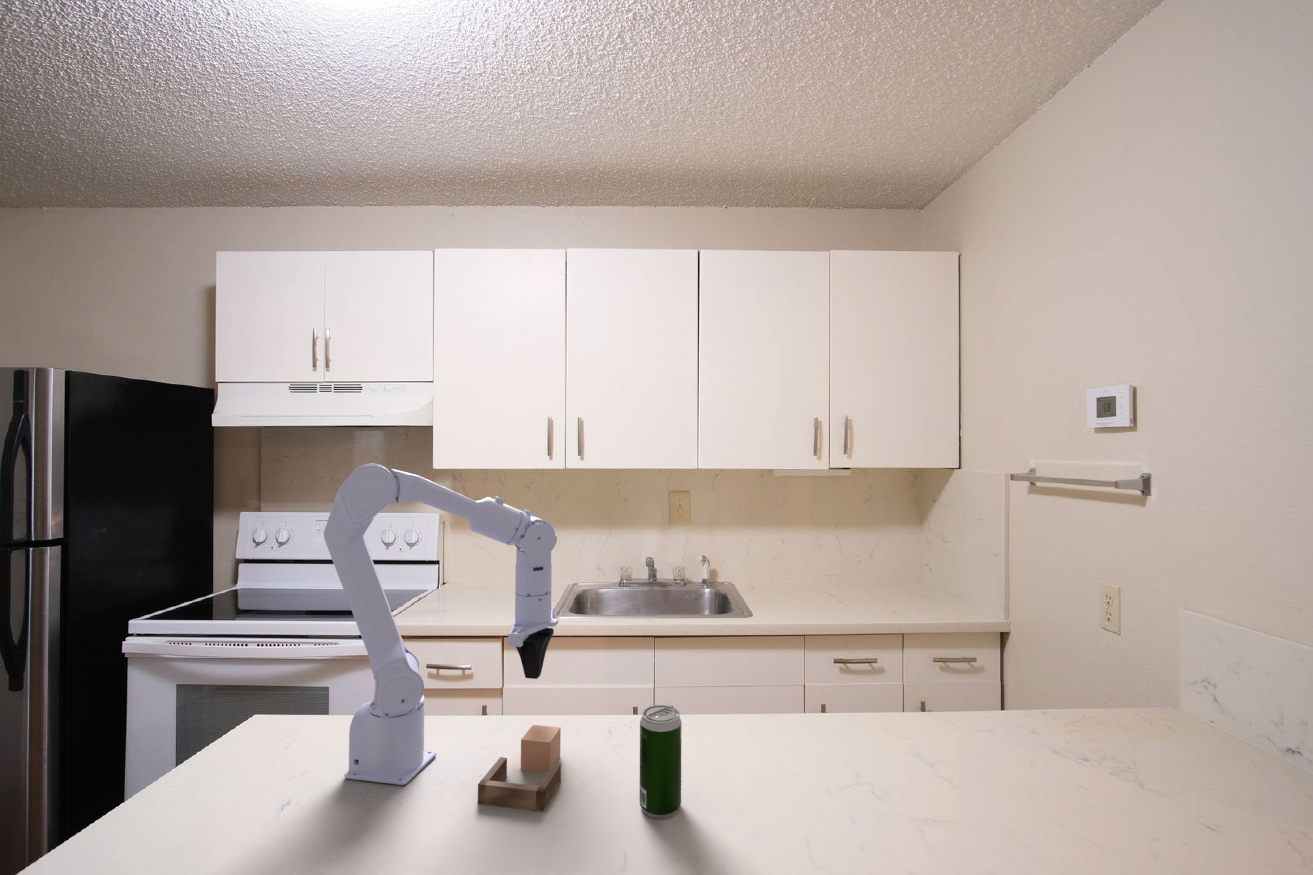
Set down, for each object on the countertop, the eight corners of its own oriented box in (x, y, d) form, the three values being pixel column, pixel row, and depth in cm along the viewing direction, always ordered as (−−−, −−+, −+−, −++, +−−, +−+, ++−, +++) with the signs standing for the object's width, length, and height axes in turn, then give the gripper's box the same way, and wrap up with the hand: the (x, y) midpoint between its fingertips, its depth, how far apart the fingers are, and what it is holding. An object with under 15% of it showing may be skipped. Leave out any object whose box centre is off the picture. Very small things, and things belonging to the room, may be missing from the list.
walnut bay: (477, 803, 73) (478, 783, 73) (500, 774, 79) (500, 756, 79) (543, 811, 71) (543, 791, 72) (560, 781, 78) (561, 763, 78)
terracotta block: (520, 770, 81) (520, 739, 81) (532, 753, 85) (532, 724, 85) (549, 773, 80) (550, 742, 80) (560, 756, 84) (560, 727, 84)
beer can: (654, 826, 69) (654, 727, 69) (631, 803, 73) (632, 710, 73) (689, 811, 72) (689, 716, 72) (665, 789, 76) (666, 700, 76)
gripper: (540, 605, 83) (539, 698, 83) (571, 582, 97) (571, 661, 97) (495, 603, 84) (494, 694, 84) (532, 580, 98) (532, 658, 98)
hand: (532, 676), depth 90 cm, fingers closed
